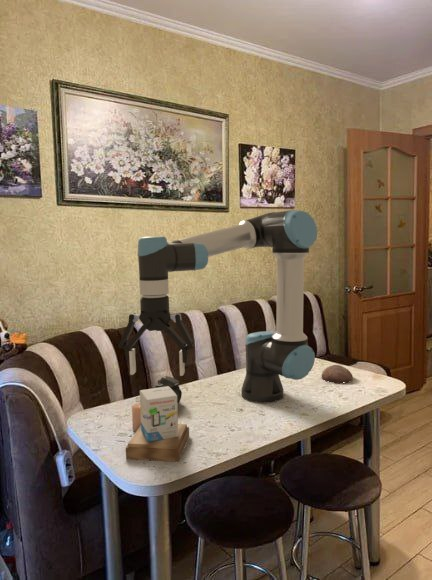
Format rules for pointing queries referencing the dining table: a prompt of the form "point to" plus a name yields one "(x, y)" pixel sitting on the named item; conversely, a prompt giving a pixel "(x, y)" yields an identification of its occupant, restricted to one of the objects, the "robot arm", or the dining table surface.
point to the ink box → (159, 413)
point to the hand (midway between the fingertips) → (157, 373)
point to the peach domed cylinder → (136, 416)
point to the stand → (158, 446)
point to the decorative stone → (337, 374)
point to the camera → (170, 385)
